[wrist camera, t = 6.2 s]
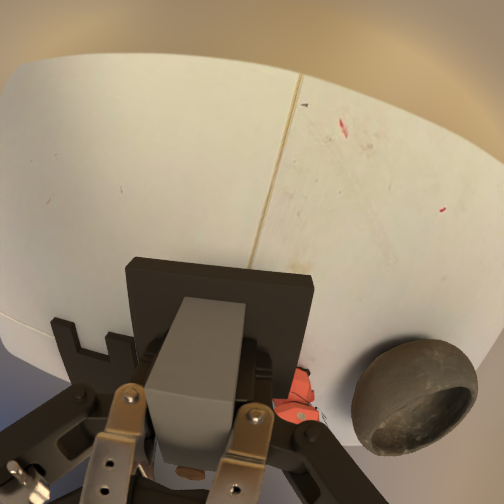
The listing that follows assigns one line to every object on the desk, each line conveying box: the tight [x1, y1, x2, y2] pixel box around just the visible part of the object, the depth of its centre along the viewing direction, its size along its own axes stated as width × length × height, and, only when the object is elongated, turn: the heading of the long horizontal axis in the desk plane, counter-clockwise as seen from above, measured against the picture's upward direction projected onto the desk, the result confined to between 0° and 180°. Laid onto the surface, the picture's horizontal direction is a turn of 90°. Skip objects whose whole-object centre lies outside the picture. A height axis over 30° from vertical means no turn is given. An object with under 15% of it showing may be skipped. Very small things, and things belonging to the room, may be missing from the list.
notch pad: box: [50, 317, 138, 393], centre depth 34 cm, size 12×12×1 cm
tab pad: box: [125, 257, 314, 471], centre depth 12 cm, size 8×11×6 cm
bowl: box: [351, 339, 478, 456], centre depth 27 cm, size 15×15×10 cm
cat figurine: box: [273, 368, 328, 426], centre depth 27 cm, size 7×7×12 cm
